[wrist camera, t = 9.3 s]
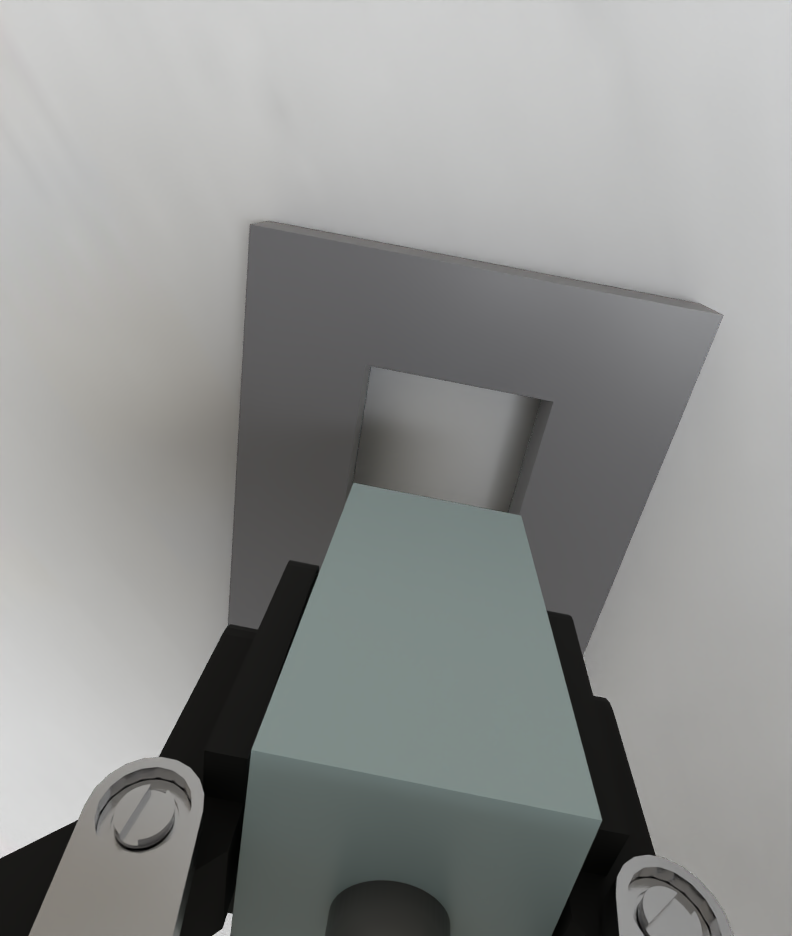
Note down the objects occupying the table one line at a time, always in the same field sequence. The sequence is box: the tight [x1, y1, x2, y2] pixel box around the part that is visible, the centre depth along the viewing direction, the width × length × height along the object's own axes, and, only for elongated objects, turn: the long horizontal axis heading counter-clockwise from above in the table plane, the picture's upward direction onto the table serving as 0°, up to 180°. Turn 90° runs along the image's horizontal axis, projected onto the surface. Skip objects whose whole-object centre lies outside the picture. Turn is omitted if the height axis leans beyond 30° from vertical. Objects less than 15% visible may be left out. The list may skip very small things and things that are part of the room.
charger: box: [230, 483, 602, 936], centre depth 10 cm, size 4×4×8 cm
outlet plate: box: [228, 221, 723, 656], centre depth 20 cm, size 24×12×2 cm, turn 170°
